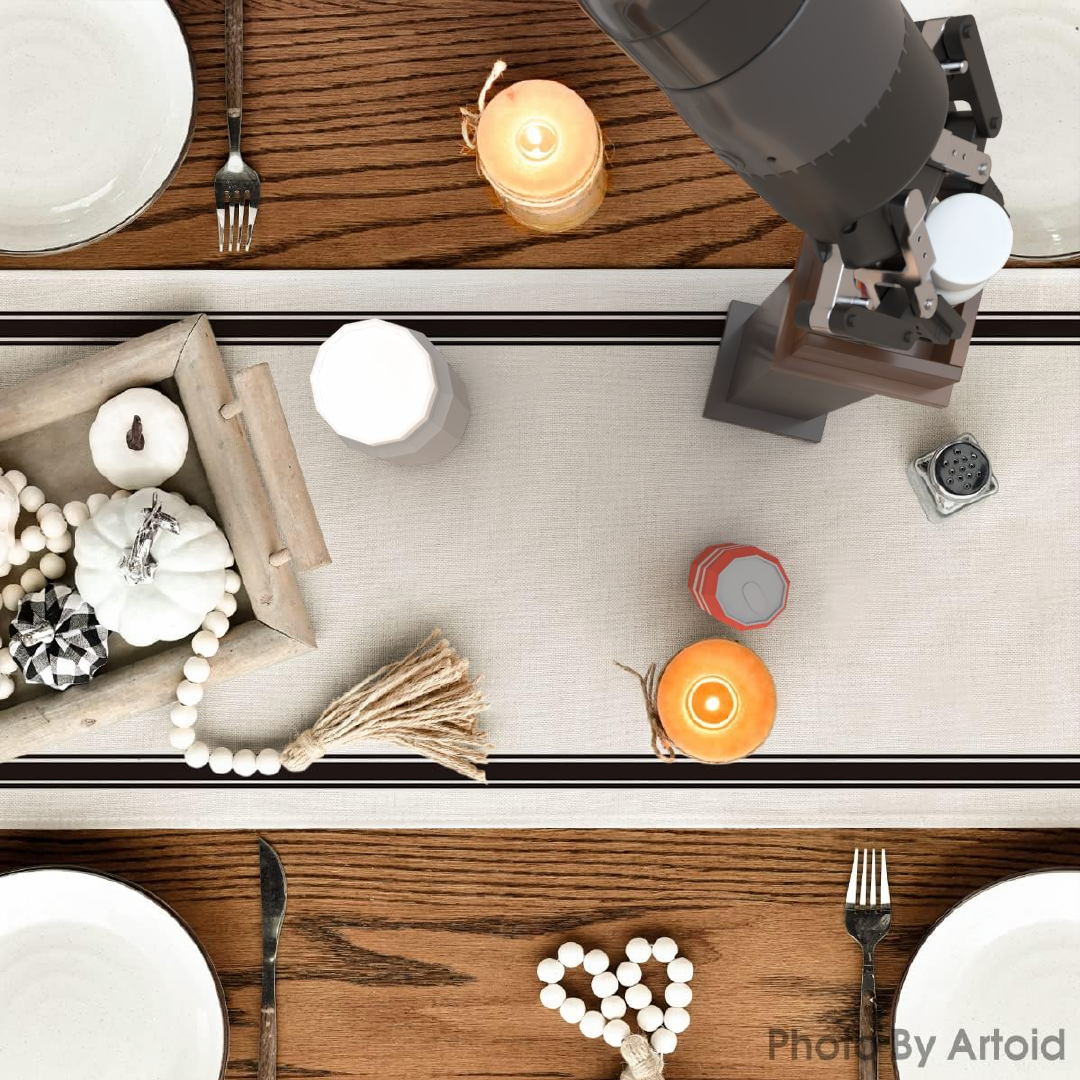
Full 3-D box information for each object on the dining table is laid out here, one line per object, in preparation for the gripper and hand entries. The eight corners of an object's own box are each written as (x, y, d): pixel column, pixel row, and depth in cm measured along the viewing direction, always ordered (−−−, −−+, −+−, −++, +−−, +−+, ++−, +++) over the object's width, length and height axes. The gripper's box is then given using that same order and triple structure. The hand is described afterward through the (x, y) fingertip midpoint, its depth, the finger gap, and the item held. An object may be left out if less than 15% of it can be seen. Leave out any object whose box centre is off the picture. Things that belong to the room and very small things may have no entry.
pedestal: (729, 302, 79) (810, 197, 53) (844, 328, 78) (983, 236, 52) (701, 417, 79) (769, 369, 53) (816, 444, 79) (940, 409, 53)
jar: (491, 437, 79) (469, 414, 61) (389, 487, 80) (338, 479, 62) (441, 334, 79) (404, 281, 61) (339, 385, 80) (273, 347, 62)
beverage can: (708, 628, 79) (734, 648, 67) (674, 562, 79) (694, 570, 67) (772, 596, 79) (809, 610, 67) (738, 529, 79) (768, 532, 67)
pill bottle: (899, 219, 49) (969, 159, 40) (962, 284, 49) (1046, 238, 40) (833, 284, 49) (890, 237, 41) (896, 348, 49) (966, 315, 41)
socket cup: (810, 197, 53) (831, 171, 49) (983, 236, 52) (1018, 213, 48) (769, 369, 53) (785, 357, 49) (940, 409, 53) (971, 400, 49)
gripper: (811, 269, 30) (986, 432, 42) (976, -150, 30) (1107, 135, 42) (645, 255, 36) (842, 403, 48) (783, -100, 35) (948, 140, 47)
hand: (965, 277), depth 45 cm, fingers closed on pill bottle, 4 cm apart
